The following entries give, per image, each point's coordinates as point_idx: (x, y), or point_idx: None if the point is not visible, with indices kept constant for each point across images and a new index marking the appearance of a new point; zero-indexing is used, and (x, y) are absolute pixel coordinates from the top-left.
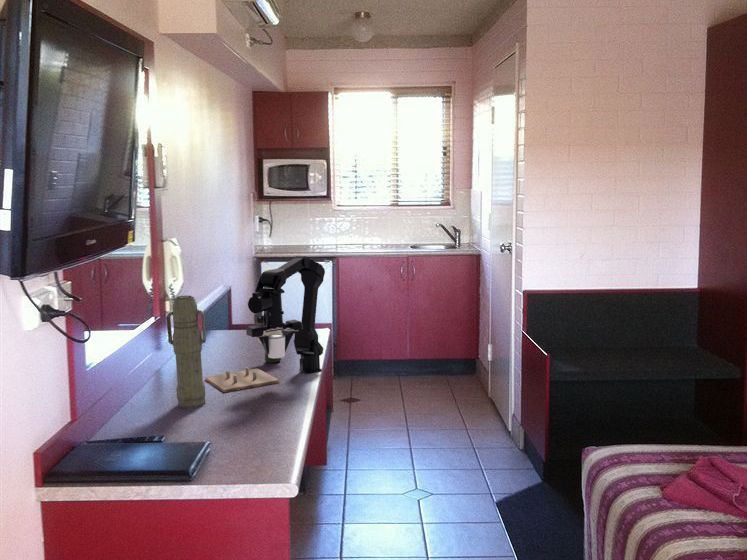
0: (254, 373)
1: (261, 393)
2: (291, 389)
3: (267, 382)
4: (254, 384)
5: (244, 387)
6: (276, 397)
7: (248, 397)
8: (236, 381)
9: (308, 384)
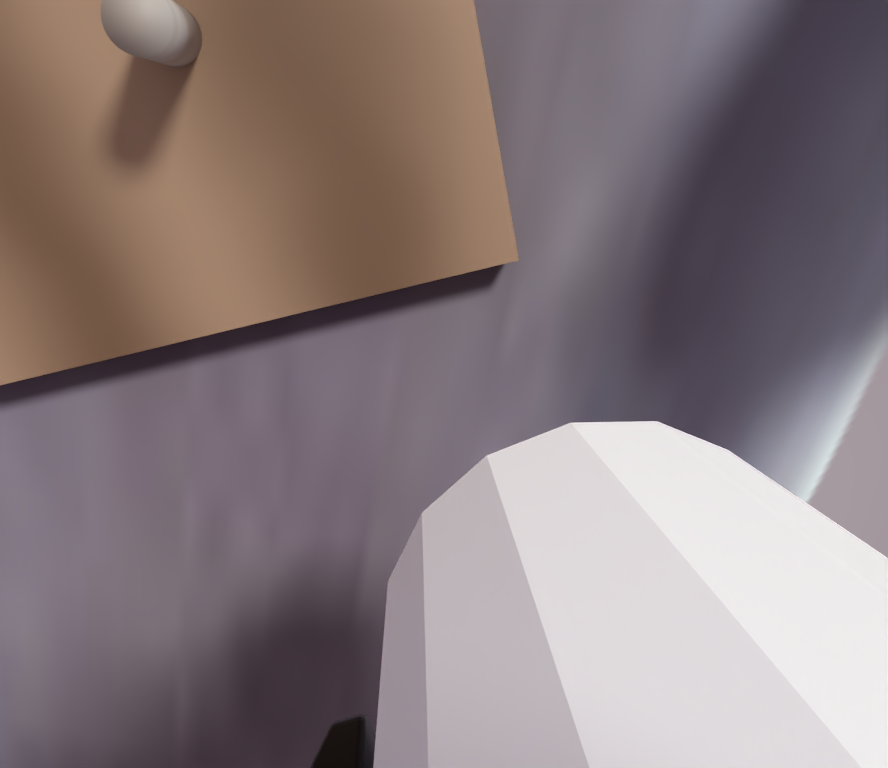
0: (141, 55)
1: (241, 600)
2: None
3: (350, 299)
4: (160, 344)
5: (20, 376)
6: None
7: (94, 684)
8: None
9: (786, 454)
